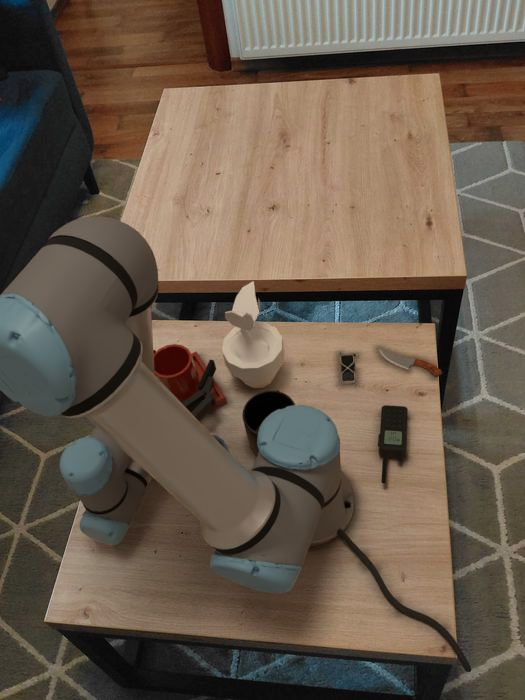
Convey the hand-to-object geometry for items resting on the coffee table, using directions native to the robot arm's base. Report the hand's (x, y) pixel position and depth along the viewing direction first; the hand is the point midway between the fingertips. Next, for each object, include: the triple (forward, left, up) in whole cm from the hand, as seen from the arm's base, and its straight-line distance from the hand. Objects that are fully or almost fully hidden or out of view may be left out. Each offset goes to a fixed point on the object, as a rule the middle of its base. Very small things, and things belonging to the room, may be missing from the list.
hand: (183, 359), depth 125 cm
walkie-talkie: (-29, -29, -5) cm, 41 cm away
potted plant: (-7, -12, -6) cm, 15 cm away
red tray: (-3, +3, -6) cm, 7 cm away
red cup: (-3, +3, -6) cm, 7 cm away
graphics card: (-14, -26, -6) cm, 30 cm away
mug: (-21, -8, -6) cm, 23 cm away
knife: (-22, -36, -6) cm, 43 cm away
